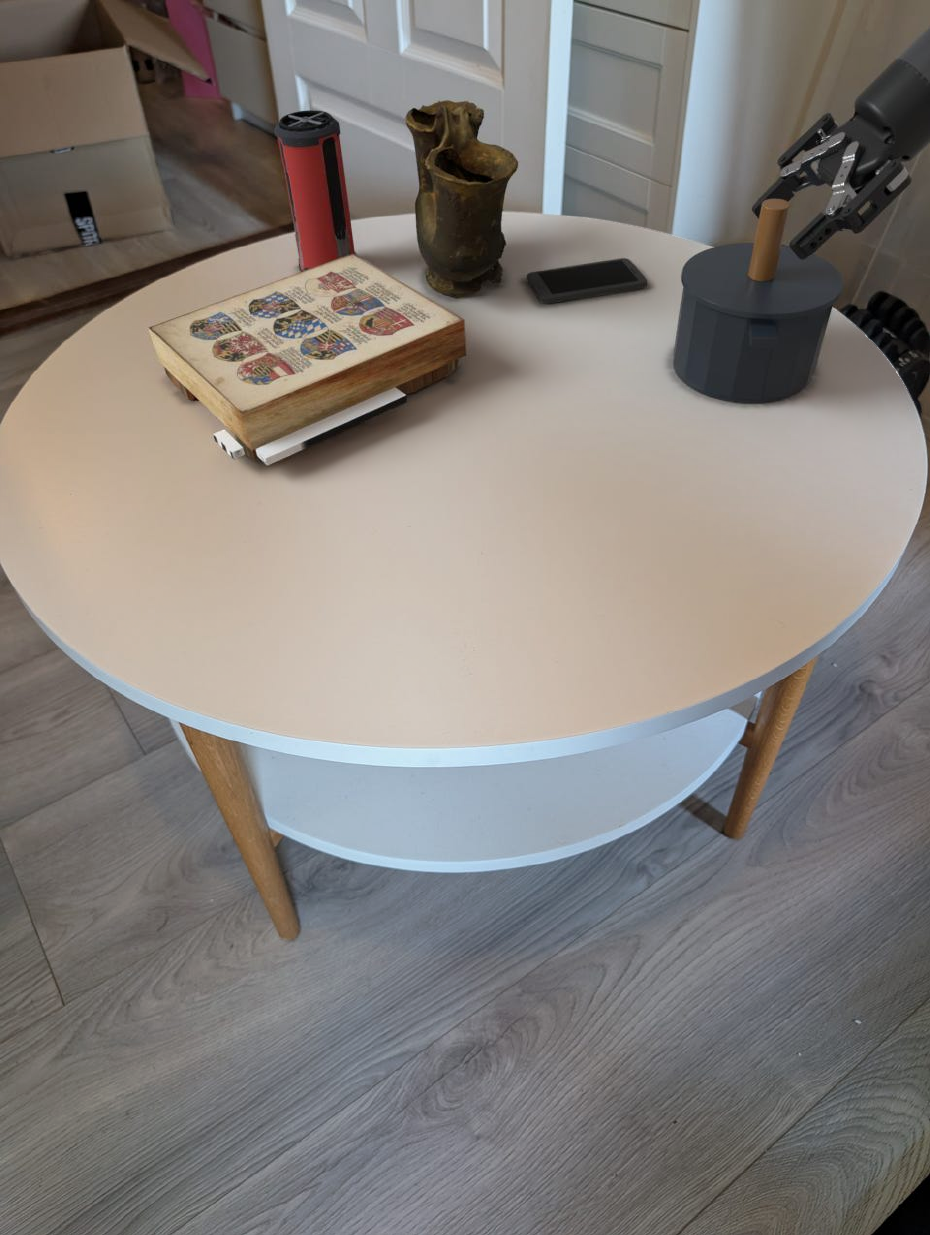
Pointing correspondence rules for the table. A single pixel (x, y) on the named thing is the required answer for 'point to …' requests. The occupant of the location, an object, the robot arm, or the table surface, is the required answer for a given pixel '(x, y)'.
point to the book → (309, 355)
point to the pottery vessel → (458, 196)
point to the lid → (762, 274)
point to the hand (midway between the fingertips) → (775, 234)
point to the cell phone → (586, 280)
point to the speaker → (315, 186)
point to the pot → (746, 353)
